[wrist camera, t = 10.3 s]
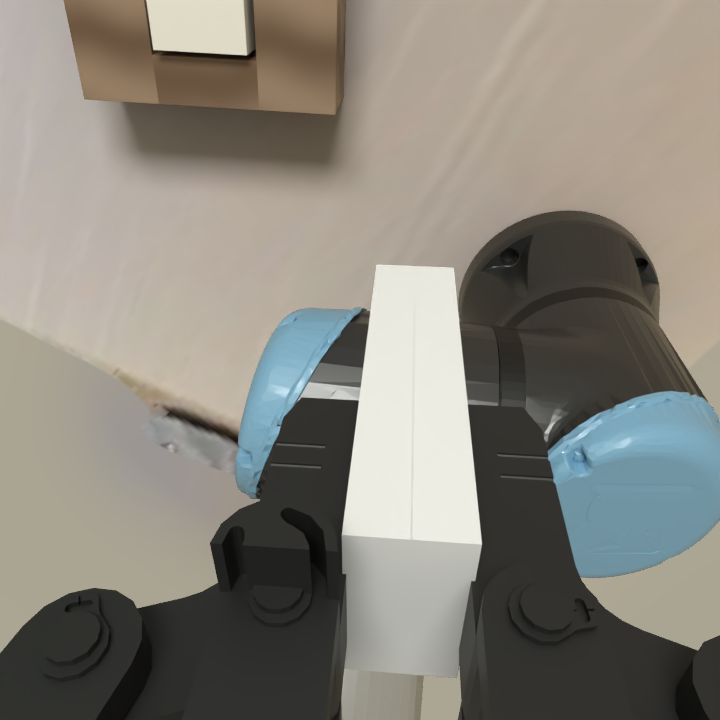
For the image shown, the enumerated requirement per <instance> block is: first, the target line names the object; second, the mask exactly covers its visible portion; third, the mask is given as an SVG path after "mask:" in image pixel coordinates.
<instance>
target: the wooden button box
mask: <svg viewBox="0 0 720 720" xmlns="http://www.w3.org/2000/svg"><path fill="white" fill-rule="evenodd" d="M64 4H65V8H66V13H67V18H68V23H69V27H70V32H71V37H72V42H73V46H74V51H75V56H76V61H77V65H78V70H79V75H80V80H81V85H82V89H83V94H84V99H88V100H104V101H120V102H136V103H152V104H169V105H185V106H201V107H217V108H233V109H249V110H265V111H281V112H297V113H313V114H330V115H336V112H337V110H338V108H339V106H340V103H341V101H342V99H343V97H344V53H345V9H346V0H253V4H254V22H255V41H256V49H255V50H253V51H252V52H251V53H249V54H248V55H232V54H215V53H198V52H181V51H163V50H153V44H152V37H151V30H150V23H149V16H148V9H147V1H146V0H64Z"/></svg>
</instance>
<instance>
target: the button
mask: <svg viewBox="0 0 720 720" xmlns="http://www.w3.org/2000/svg"><path fill="white" fill-rule="evenodd" d="M146 1H147V9H148V16H149V23H150V30H151V37H152V44H153V50H163V51H181V52H198V53H215V54H232V55H248V54H249V53H251V52H252V51H253V50H255V49H256V41H255V22H254V4H253V0H146Z"/></svg>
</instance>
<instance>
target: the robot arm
mask: <svg viewBox="0 0 720 720" xmlns="http://www.w3.org/2000/svg"><path fill="white" fill-rule="evenodd" d="M659 306H660V288H659V282H658V277H657V274H656V271H655V268H654V266H653V264H652V262H651V260H650V258H649V256H648V255H647V253H646V252H645V251H644V249H643V248H642V246H641V245H640V243H639V242H638V241H637V239H636V238H635V237H634V236H633V235H632V234H631V233H630V232H629V231H627V230H626V229H625V228H624V227H622V226H621V225H619V224H618V223H616V222H614V221H612V220H610V219H608V218H605V217H602V216H600V215H596V214H592V213H587V212H581V211H556V212H549V213H544V214H540V215H536V216H533V217H529V218H527V219H524V220H522V221H520V222H517V223H515V224H513V225H512V226H510V227H508V228H506V229H505V230H503V231H502V232H500V233H499V234H497V235H496V236H495V237H494V238H492V239H491V240H490V241H489V242H488V243H487V244H486V245H485V246H484V247H483V248H482V249H481V250H480V251H479V253H478V254H477V255H476V256H475V258H474V259H473V261H472V262H471V264H470V266H469V268H468V270H467V272H466V274H465V276H464V279H463V282H462V286H461V290H460V297H459V309H460V319H461V322H460V321H459V315H458V305H457V295H456V286H455V276H454V268H449V267H424V266H400V265H376V273H375V281H374V288H373V296H372V304H371V312H370V311H367V309H364V308H354V309H352V310H343V309H321V308H304V309H300V310H297V311H295V312H293V313H291V314H289V315H288V316H287V317H286V318H284V319H283V320H282V321H281V323H280V324H279V325H278V326H277V328H276V330H275V331H274V332H273V334H272V335H271V337H270V339H269V341H268V343H267V345H266V347H265V349H264V351H263V353H262V356H261V358H260V361H259V363H258V366H257V369H256V372H255V374H254V377H253V380H252V384H251V387H250V390H249V394H248V397H247V401H246V405H245V409H244V413H243V417H242V421H241V426H240V431H239V437H238V444H239V446H240V447H239V450H238V454H237V458H236V464H235V478H236V483H237V486H238V488H239V490H240V491H241V492H243V493H245V494H247V495H248V496H249V497H250V498H251V499H260V498H261V499H260V501H259V502H256V503H254V504H251V505H249V506H247V507H244V508H241V509H239V510H238V511H237V512H235V513H234V514H233V515H232V516H230V517H229V518H228V519H227V520H225V521H224V522H223V523H222V524H221V525H220V527H219V529H218V530H217V532H216V534H215V536H214V537H213V539H212V541H211V542H210V545H211V550H212V555H213V559H214V564H215V569H216V574H217V579H218V583H217V584H215V585H213V586H212V587H210V588H208V589H206V590H204V591H203V592H200V593H197V594H194V595H191V596H188V597H185V598H181V599H177V600H172V601H168V602H163V603H159V604H155V605H150V606H146V607H142V608H136V606H135V604H134V602H133V601H132V600H131V599H129V598H127V597H126V596H124V595H122V594H121V593H119V592H118V591H116V590H107V589H97V588H92V589H87V590H83V591H78V592H73V593H69V594H67V595H65V596H63V597H61V598H60V599H58V600H56V601H54V602H52V603H50V604H48V605H46V606H44V607H43V608H42V609H41V610H40V611H39V612H38V613H37V614H36V615H35V616H34V617H33V618H31V619H30V620H29V621H28V622H27V623H26V624H25V625H24V626H23V627H22V628H21V629H20V630H19V632H18V633H17V634H16V635H15V636H14V638H13V639H12V640H11V641H10V642H9V644H8V645H7V646H6V647H5V648H4V650H3V651H2V652H1V653H0V720H420V715H421V701H422V688H423V676H436V677H448V678H457V676H458V670H459V665H460V680H461V698H462V702H461V707H460V712H459V717H458V720H720V636H717V637H715V638H713V639H710V640H708V641H706V642H704V643H703V644H702V646H701V647H700V649H699V650H698V651H697V650H694V649H692V648H689V647H686V646H684V645H681V644H678V643H676V642H673V641H670V640H667V639H665V638H662V637H659V636H657V635H654V634H651V633H648V632H646V631H643V630H641V629H639V628H636V627H634V626H632V625H630V624H628V623H626V622H624V621H622V620H621V619H619V618H618V617H616V616H615V615H613V614H612V613H611V612H609V611H608V610H606V609H605V608H604V607H603V606H602V605H601V604H600V603H599V602H598V600H597V598H596V597H595V596H594V595H593V594H592V593H591V592H590V591H589V590H588V589H587V588H586V586H585V585H584V583H583V582H582V581H581V578H580V577H585V578H602V577H613V576H620V575H625V574H629V573H634V572H637V571H641V570H644V569H647V568H650V567H653V566H656V565H658V564H661V563H662V562H663V561H665V560H667V559H669V558H671V557H674V556H676V555H678V554H680V553H682V552H684V551H685V550H687V549H689V548H690V547H692V546H693V545H694V544H696V543H697V542H698V541H700V540H701V539H702V538H703V537H704V536H705V535H706V534H708V533H709V532H710V531H711V530H712V528H713V527H714V526H715V525H716V524H717V523H718V521H719V520H720V422H719V418H718V415H717V414H716V412H714V409H713V407H712V406H711V405H710V404H709V403H708V401H707V399H706V398H705V397H704V395H703V393H702V392H701V390H700V389H699V387H698V385H697V384H696V382H695V381H694V379H693V378H692V376H691V375H690V373H689V371H688V370H687V368H686V367H685V365H684V363H683V362H682V360H681V359H680V357H679V356H678V354H677V352H676V351H675V349H674V348H673V346H672V345H671V343H670V341H669V340H668V338H667V337H666V335H665V334H664V332H663V330H662V329H661V328H660V326H659Z"/></svg>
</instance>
